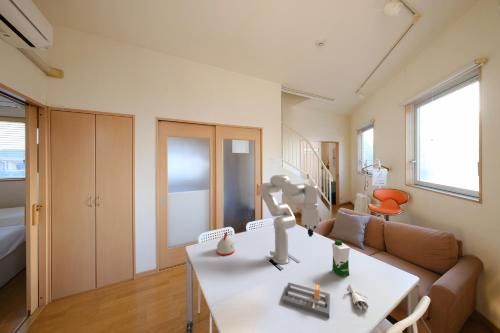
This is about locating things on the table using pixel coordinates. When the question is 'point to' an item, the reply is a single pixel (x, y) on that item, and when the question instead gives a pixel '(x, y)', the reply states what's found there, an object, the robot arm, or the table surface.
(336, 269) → the milk carton
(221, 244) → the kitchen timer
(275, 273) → the table surface
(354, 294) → the woman figurine
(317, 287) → the fader
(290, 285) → the console
